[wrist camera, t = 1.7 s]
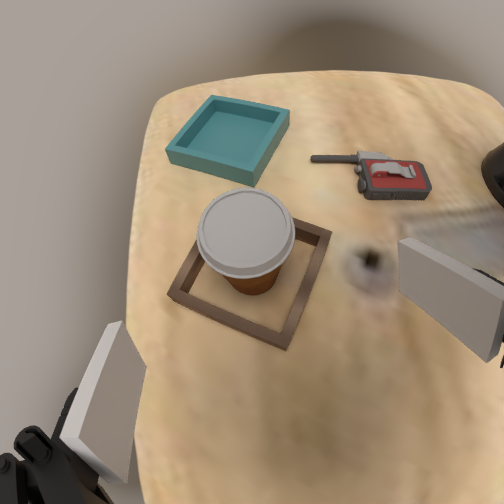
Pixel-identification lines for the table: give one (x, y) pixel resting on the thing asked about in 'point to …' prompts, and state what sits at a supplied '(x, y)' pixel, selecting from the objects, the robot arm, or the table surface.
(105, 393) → the robot arm
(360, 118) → the table surface
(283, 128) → the teal tray
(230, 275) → the disposable coffee cup
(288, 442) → the table surface
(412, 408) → the table surface
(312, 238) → the walnut cup stand
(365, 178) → the walkie-talkie
